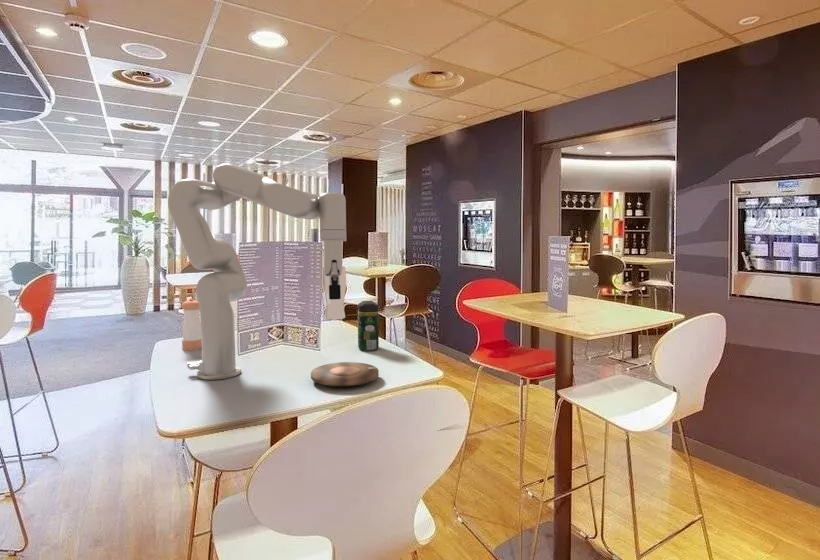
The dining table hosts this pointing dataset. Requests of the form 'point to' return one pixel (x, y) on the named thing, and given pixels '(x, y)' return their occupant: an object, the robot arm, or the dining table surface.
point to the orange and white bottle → (191, 325)
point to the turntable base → (344, 386)
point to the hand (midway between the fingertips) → (334, 297)
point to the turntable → (344, 374)
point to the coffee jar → (368, 326)
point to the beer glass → (335, 305)
